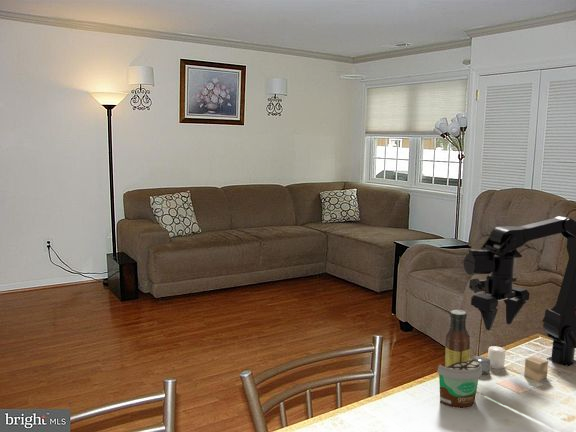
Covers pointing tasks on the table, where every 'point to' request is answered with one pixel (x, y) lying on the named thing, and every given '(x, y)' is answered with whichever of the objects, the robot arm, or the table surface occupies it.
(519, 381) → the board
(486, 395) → the table surface
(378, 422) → the table surface
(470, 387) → the food container
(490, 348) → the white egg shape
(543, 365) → the oak block
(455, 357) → the sauce bottle
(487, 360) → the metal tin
